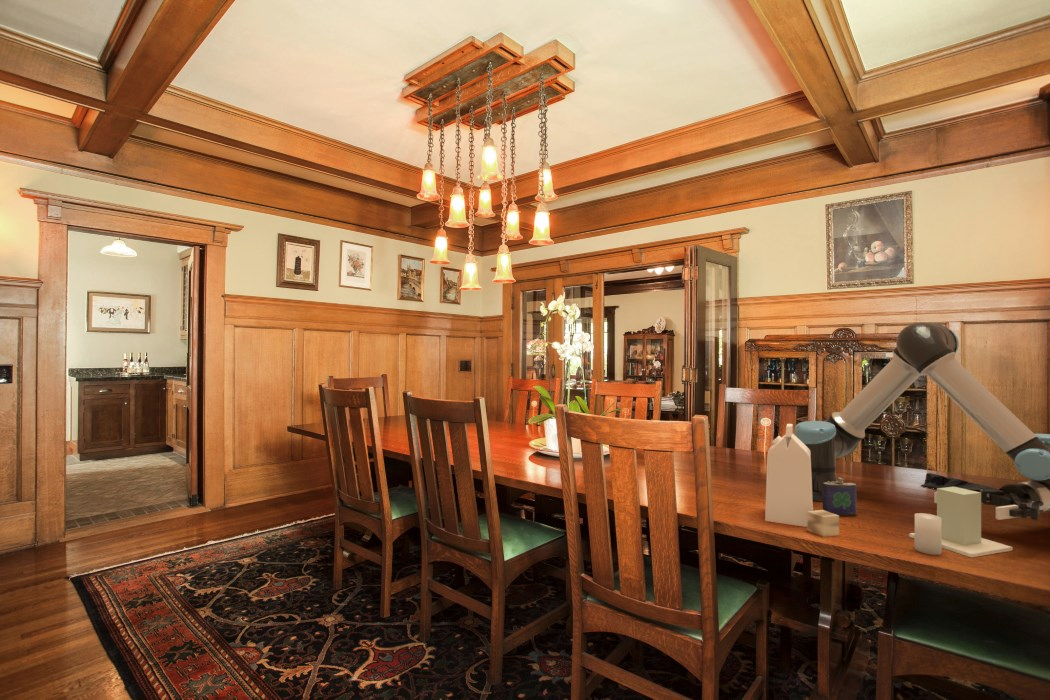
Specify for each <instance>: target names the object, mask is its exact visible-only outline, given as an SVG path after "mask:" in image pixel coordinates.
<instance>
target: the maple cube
mask: <svg viewBox="0 0 1050 700" xmlns="http://www.w3.org/2000/svg"><path fill="white" fill-rule="evenodd" d="M807 531H808V532H811V533H814V534H815V535H818V536H819V537H823V538H825V537H832V536H833V537H834V536H840V516H839V515H836V514H833V513H830V512H828V511H825V510H823V509H820V510H819V509H817V510H813V511H808V527H807Z"/></svg>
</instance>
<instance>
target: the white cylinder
mask: <svg viewBox="0 0 1050 700" xmlns="http://www.w3.org/2000/svg"><path fill="white" fill-rule="evenodd" d="M914 533H915V539H914V550H915V551H917V552H919V553H923V554H925V555H935V556H936V555H937V556H938V555H941V554H942V549H943V548H942V530H941V517H939V516H937V514H936V515H934V514H931V513H922V512H920V513H919V512H918V513H914Z"/></svg>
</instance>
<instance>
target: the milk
mask: <svg viewBox="0 0 1050 700" xmlns="http://www.w3.org/2000/svg"><path fill="white" fill-rule="evenodd" d="M793 425H794V424H793V423H787V424H786V426H785V434H784V435H783V436H780V435H778V436H777V437H776V438H774V439H773V440H772V441H771V443H772V444H771V446H770V447H769V448H768V450H767V458H766V483H765V485H766V486H765V488H766V489H765V512H764V513H765V514H764V515H765V516H764V517H765V518H764V521H765V522H769V521H770V522H771V523H778V524H784V525H791V526H799V527H804V528H808V511H814V505H813V503H814V502H813V501H814V500H813V499H812V476H811V453H810V450H809V448H808V447H807V446H806V445H805V444H804V443H803V442H802V441H800V440H799V439H798V438H797V437H796V436H795V435H794V433H793V432H794V431H793V429H794V427H793Z"/></svg>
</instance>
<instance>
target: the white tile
mask: <svg viewBox="0 0 1050 700" xmlns="http://www.w3.org/2000/svg"><path fill="white" fill-rule="evenodd" d="M908 537H909V538H912V539H914V540H915V532H911V533H908ZM942 549H944V550H947V551H950V552H953V553H956V554H959V555H963V556H965V557H968V558H970V559H971V558H977V557H981V556H982V557H983V556H989V555H994V554H1001V553H1005V552H1011V551H1013V546H1011V545H1006V544H1003V543H1000V542H997V541H995V540H994V541H992V540H990V539H987V538H984V537H981V543H977V544H971V545H965V546H963V545H960V544H957V543H954V542H951V541H948V540H944V539H942Z"/></svg>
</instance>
